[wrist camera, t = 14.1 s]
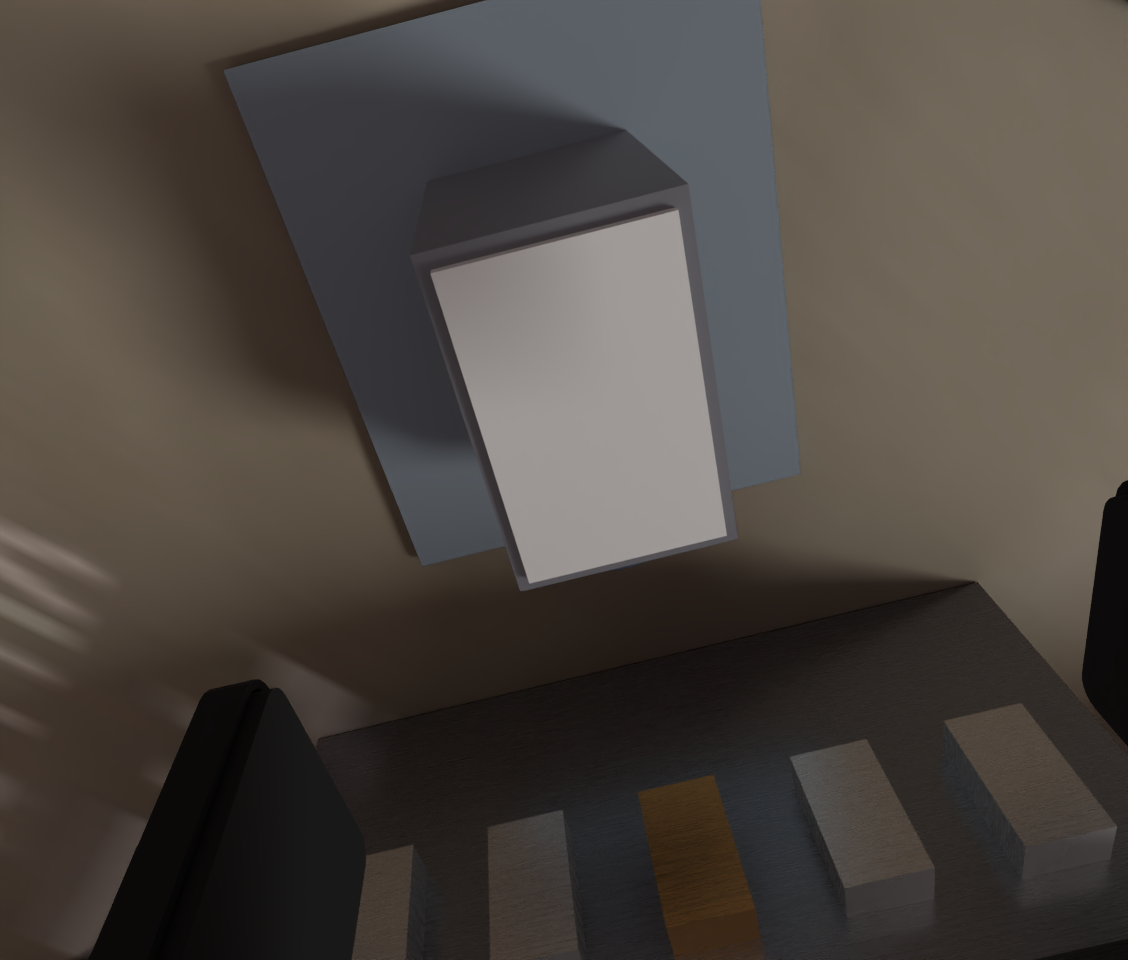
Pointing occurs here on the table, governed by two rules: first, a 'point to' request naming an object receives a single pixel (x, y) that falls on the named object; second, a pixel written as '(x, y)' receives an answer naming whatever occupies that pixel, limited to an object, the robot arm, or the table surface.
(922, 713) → the breaker box
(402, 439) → the mat
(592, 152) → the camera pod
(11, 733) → the table surface
